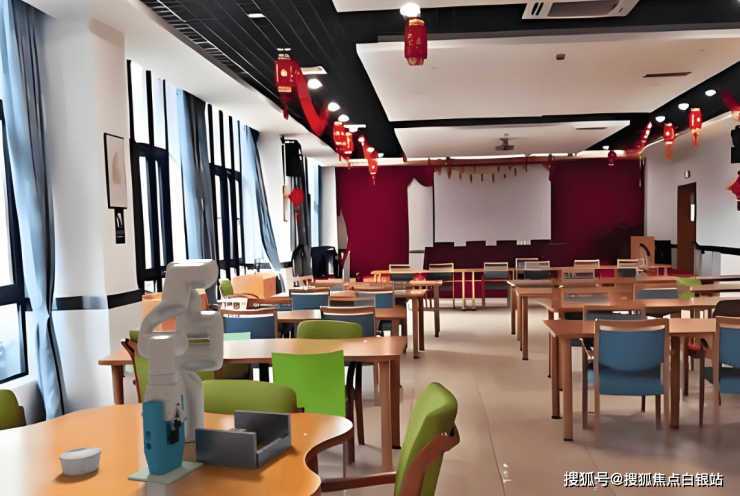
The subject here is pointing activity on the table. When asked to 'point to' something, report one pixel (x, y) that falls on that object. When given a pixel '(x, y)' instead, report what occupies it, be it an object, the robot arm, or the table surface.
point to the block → (160, 440)
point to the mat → (167, 477)
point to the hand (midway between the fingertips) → (164, 441)
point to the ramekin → (80, 461)
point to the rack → (245, 440)
